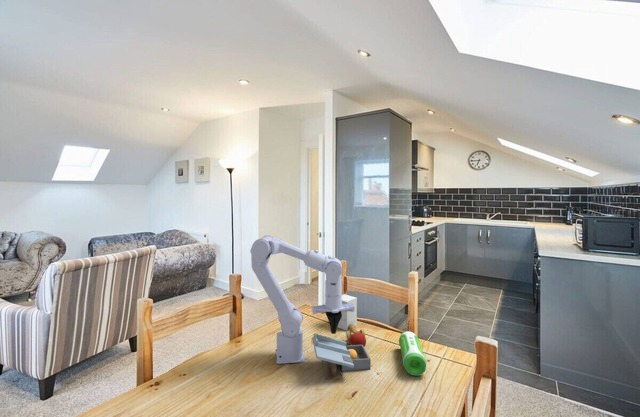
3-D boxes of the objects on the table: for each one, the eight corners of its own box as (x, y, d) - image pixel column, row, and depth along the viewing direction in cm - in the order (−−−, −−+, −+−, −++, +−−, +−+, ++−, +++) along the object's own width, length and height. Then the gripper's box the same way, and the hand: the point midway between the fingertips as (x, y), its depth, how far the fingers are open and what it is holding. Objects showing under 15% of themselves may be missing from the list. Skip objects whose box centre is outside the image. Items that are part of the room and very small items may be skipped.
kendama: (340, 334, 125) (347, 350, 107) (343, 319, 126) (350, 332, 108) (358, 337, 126) (368, 353, 108) (361, 322, 126) (371, 336, 108)
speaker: (398, 348, 111) (398, 328, 111) (418, 350, 110) (418, 330, 110) (403, 376, 94) (403, 353, 94) (427, 378, 93) (427, 355, 93)
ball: (354, 366, 100) (344, 361, 99) (351, 359, 104) (342, 354, 103) (360, 355, 100) (350, 350, 99) (357, 349, 104) (347, 344, 103)
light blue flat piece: (316, 358, 90) (318, 351, 90) (312, 338, 103) (314, 332, 103) (353, 367, 92) (355, 360, 92) (344, 347, 104) (346, 340, 104)
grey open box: (342, 371, 96) (342, 361, 96) (336, 355, 106) (336, 346, 106) (370, 369, 98) (370, 359, 97) (362, 354, 107) (362, 344, 107)
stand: (326, 379, 92) (326, 363, 92) (322, 361, 102) (322, 347, 102) (342, 377, 93) (342, 362, 93) (336, 360, 103) (336, 346, 103)
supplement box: (357, 326, 130) (357, 297, 129) (346, 331, 125) (346, 301, 124) (344, 321, 135) (344, 293, 135) (333, 326, 130) (333, 297, 129)
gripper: (313, 298, 98) (313, 339, 98) (356, 296, 100) (356, 336, 100) (311, 291, 105) (311, 329, 105) (351, 290, 107) (351, 327, 107)
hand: (333, 332), depth 103 cm, fingers closed
